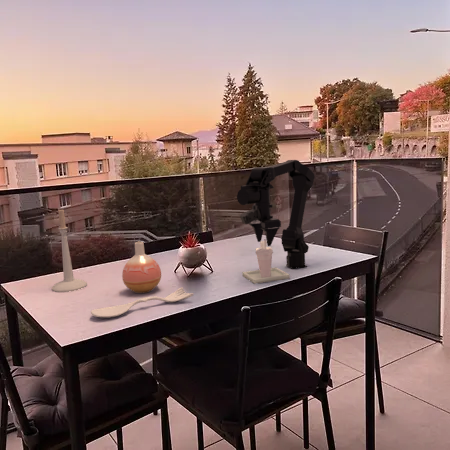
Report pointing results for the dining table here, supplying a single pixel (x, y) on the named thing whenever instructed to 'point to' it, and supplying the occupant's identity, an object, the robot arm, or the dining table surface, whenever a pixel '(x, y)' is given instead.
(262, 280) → the tray
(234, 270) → the dining table surface
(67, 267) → the candlestick
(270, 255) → the smoothie
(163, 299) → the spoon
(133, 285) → the vase
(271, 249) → the teacup and saucer
